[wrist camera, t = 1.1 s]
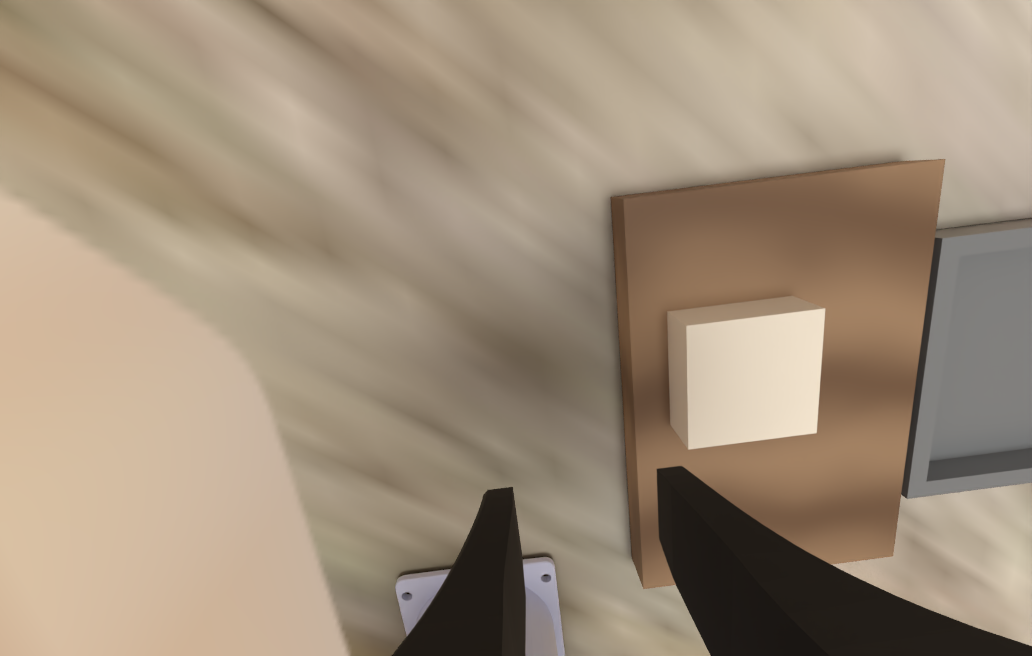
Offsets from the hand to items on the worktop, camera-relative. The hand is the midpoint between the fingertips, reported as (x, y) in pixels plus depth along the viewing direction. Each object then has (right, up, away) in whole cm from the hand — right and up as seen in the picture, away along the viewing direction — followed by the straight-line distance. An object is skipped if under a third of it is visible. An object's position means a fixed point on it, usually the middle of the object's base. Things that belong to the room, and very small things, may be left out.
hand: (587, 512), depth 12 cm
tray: (+21, +4, +11) cm, 24 cm away
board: (+9, +2, +11) cm, 14 cm away
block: (+7, +3, +8) cm, 11 cm away
